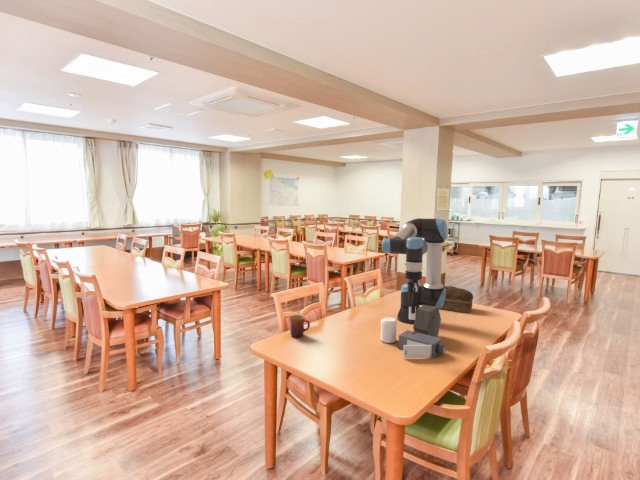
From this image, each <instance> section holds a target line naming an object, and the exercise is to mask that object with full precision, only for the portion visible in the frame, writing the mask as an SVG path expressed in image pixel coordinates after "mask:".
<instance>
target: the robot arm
mask: <svg viewBox="0 0 640 480" xmlns="http://www.w3.org/2000/svg"><path fill="white" fill-rule="evenodd" d="M448 233H449V231H448V224H447V221H446V220H445V219H442V218H421V217H420V218H414V219H411V220H408V221H407V222H405V223H403V224H402V226H401V227H400V229H399V230H398V232H396V233H395V234H394V235H393V236H392V237H390V238H389V237H388V238H386V237H385V238H383V239H382V242H381V250H382V252H383V253H385V254H396V255H397V254H398V255H405V258H406V259H405V263H404V266H405V274H404V275H405V279H406V280H409V281H407V283H404V284H402V285H401V287H400V307H399V310H398V312H397V313H398V314H397V317H396V318H397V319H396V320H397V321H400V322H401V323H405V324H414V321H415V316H416V311H417V309H418V308H419V307H421V306H423V305H429V306H434V307H439V308H440V307H442V306H443V304H444V300H445V296H446V289H443V286H444V284H443V283H442V257H443V256H442V252H443V251H442V250H443V249H442V246H443V244H444V243H445V242H446V241H445V240H447V239H448V237H449V235H448ZM424 254H426V258H425V259H426V261H425V262H426V263H425V265H426V266H425V267H426V268H425V269H426V270H425V282H423V286H422V285H421V283H420V282H418V281H420V280H422V279H423V272H422V271H423V257H424Z"/></svg>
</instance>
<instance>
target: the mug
mask: <svg viewBox="0 0 640 480" xmlns="http://www.w3.org/2000/svg"><path fill="white" fill-rule="evenodd" d="M288 319H289V323H290V328H289V329H290V330H289V331H290V335H291V337H293V338H301V337H303V336H304V334H305V332H306V331H308V330H309V329H310V327H311V323H310V321H309V320H308V319H306V316H304V315H301V314H300V315H299V314H295V315H294V314H293V315H291V316H289V317H288ZM305 322H306V323H307V327H306V328H305V324H304V323H305Z"/></svg>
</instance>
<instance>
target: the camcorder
mask: <svg viewBox="0 0 640 480" xmlns="http://www.w3.org/2000/svg"><path fill="white" fill-rule="evenodd" d="M430 344H432V358H431V359H434V358H436V357H437V356H438V355H439V354H440V355H444V354H445V352H446V345H445V344H442V338H441V337H439V336H438V337H434V336H430V335H426V334H422V333H418V332H415V331H414V330H409V329H407V330H405V331H403V332H402V333H400V334H398V347H397V348H398V349H399V350H401V351H403V346H404V345H430Z"/></svg>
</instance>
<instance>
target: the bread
mask: <svg viewBox="0 0 640 480" xmlns="http://www.w3.org/2000/svg"><path fill="white" fill-rule="evenodd" d="M443 289H446V296H445V300H444V304H443V306H442V307H440V308H439V307H438V309H439V310H445V311H446V310H448V311H453V312H459V313H465V314H469V313H470V312H471V310H472V308H473V300H474V295H473V293H472V292H471V291H469V290H468V289H465V288H460V287H456V286H453V285H451V286H450V285H449V286H448V285H443Z"/></svg>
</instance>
